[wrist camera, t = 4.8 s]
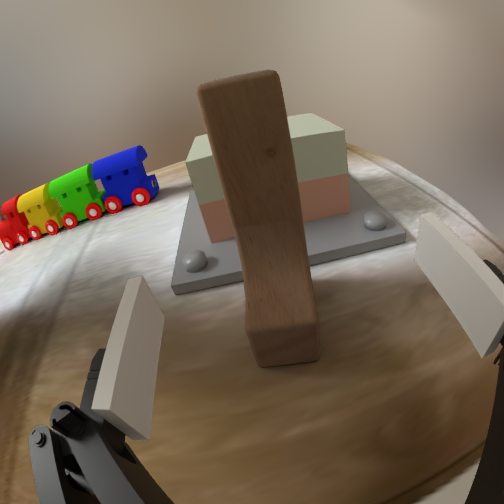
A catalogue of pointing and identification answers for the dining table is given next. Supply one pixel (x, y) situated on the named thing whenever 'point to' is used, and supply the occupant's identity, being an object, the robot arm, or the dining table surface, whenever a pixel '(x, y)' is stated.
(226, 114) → the wooden block
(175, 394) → the dining table surface
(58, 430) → the robot arm
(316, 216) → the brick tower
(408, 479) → the dining table surface
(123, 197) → the toy train
